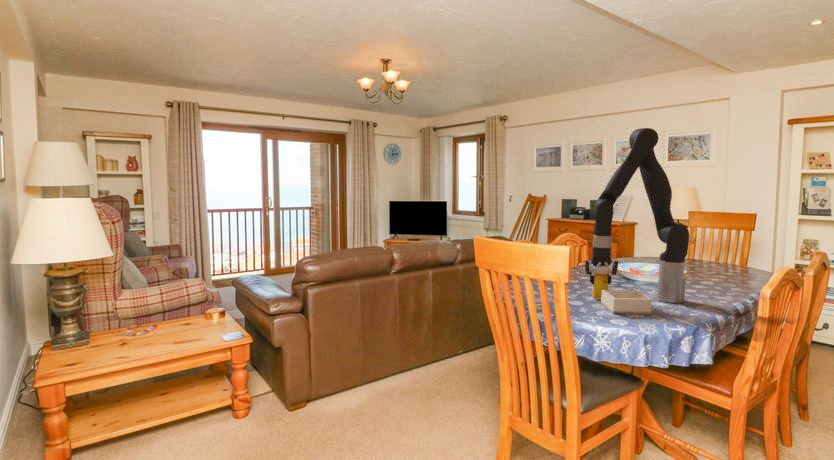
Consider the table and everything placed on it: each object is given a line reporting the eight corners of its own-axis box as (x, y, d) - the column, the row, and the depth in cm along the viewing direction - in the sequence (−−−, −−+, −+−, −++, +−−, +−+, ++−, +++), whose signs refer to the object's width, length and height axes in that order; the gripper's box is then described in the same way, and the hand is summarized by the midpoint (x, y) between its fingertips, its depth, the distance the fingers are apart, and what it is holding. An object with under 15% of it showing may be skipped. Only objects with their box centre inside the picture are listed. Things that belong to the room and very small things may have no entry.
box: (635, 304, 188) (636, 290, 187) (650, 314, 174) (651, 299, 174) (600, 303, 189) (601, 289, 188) (613, 313, 175) (613, 298, 175)
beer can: (608, 301, 193) (610, 266, 192) (593, 300, 195) (594, 266, 193) (605, 297, 199) (607, 263, 197) (590, 296, 200) (592, 263, 199)
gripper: (615, 244, 197) (614, 282, 199) (582, 244, 198) (580, 281, 200) (622, 247, 190) (620, 286, 192) (587, 247, 191) (585, 285, 193)
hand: (600, 283), depth 196 cm, fingers closed on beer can, 6 cm apart
